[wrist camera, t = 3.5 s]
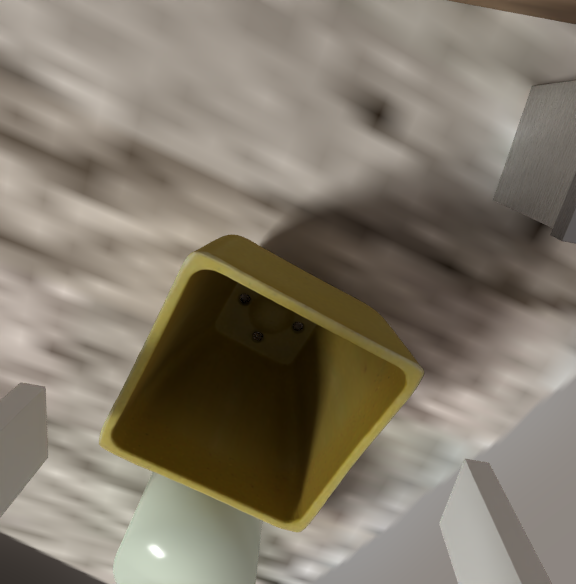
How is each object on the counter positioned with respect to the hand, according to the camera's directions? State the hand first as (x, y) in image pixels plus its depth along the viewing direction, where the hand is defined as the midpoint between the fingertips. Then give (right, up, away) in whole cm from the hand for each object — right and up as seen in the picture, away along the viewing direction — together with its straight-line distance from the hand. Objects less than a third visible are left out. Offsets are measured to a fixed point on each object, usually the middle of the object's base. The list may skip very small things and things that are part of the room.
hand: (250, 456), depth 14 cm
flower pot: (0, +4, +10) cm, 11 cm away
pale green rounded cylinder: (-4, -6, +14) cm, 16 cm away
